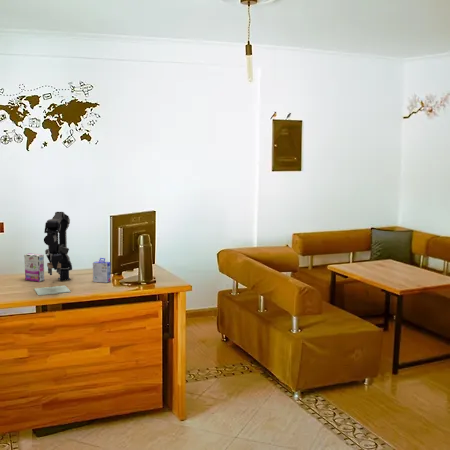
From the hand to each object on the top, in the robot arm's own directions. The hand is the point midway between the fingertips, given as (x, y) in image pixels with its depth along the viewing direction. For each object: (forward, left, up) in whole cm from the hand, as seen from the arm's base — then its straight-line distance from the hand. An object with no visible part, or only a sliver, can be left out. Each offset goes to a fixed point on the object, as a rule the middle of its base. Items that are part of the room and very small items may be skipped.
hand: (54, 268), depth 340 cm
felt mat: (0, -1, -13) cm, 13 cm away
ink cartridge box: (-10, +31, -13) cm, 35 cm away
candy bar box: (-29, -6, -13) cm, 33 cm away
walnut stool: (0, 0, -3) cm, 3 cm away
